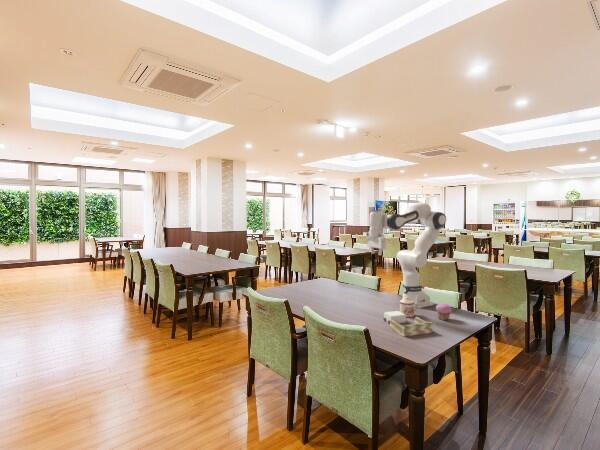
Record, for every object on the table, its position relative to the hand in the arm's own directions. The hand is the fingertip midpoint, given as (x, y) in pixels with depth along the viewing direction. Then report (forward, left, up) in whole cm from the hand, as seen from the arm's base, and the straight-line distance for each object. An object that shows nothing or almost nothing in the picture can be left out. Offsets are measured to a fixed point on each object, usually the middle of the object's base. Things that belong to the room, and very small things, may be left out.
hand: (376, 254), depth 213 cm
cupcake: (-30, +29, -39) cm, 57 cm away
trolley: (0, +22, -39) cm, 45 cm away
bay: (0, +37, -38) cm, 53 cm away
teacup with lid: (-15, +15, -39) cm, 44 cm away
